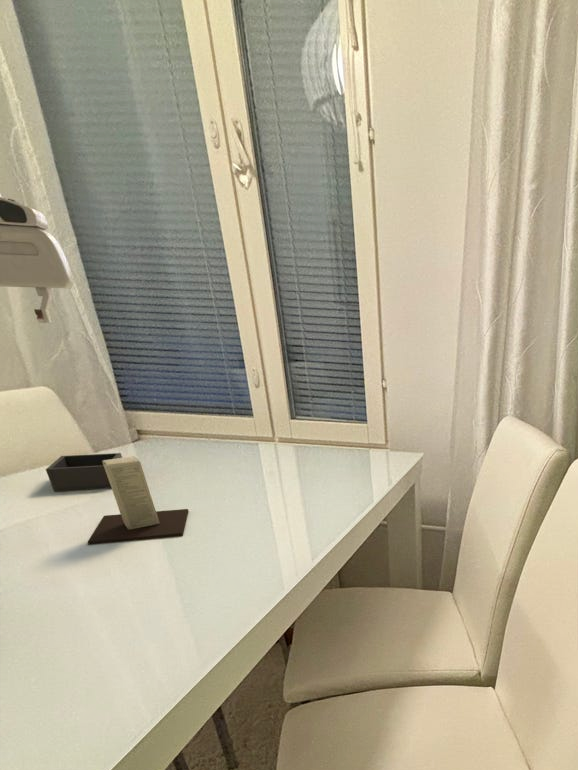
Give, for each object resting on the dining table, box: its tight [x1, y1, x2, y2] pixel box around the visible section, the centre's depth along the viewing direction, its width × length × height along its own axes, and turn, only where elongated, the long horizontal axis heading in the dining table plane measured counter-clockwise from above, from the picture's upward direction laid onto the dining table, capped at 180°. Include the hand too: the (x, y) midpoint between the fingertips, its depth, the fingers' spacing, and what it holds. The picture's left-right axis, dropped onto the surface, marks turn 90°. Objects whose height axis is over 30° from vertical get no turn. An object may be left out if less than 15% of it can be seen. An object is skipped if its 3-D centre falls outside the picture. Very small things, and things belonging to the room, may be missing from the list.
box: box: [102, 456, 159, 530], centre depth 94 cm, size 5×4×11 cm
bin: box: [45, 452, 123, 493], centre depth 119 cm, size 12×13×5 cm
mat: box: [87, 508, 190, 546], centre depth 97 cm, size 14×14×1 cm
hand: (9, 322), depth 84 cm, fingers open, 8 cm apart
